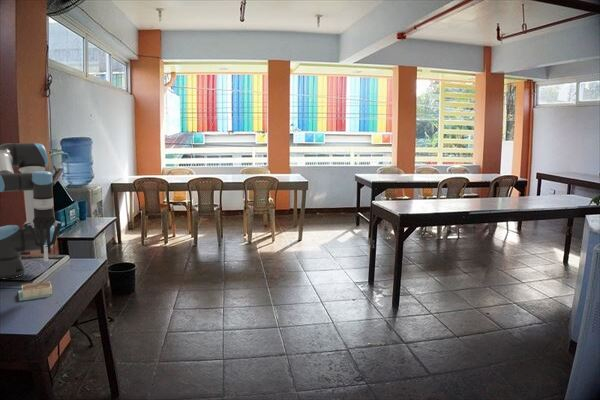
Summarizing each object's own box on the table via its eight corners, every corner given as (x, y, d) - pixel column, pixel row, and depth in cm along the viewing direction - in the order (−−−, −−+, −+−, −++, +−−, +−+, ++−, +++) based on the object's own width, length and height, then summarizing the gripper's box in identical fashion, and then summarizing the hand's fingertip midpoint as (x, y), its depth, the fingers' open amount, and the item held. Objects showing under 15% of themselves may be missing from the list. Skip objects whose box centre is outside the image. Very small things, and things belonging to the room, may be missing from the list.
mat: (18, 291, 207) (18, 290, 207) (47, 287, 213) (47, 286, 213) (19, 300, 198) (19, 299, 198) (50, 296, 204) (50, 295, 204)
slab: (50, 287, 212) (22, 291, 206) (50, 280, 212) (21, 284, 206) (52, 293, 206) (22, 298, 200) (51, 286, 205) (22, 290, 199)
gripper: (26, 210, 195) (29, 264, 199) (61, 208, 202) (63, 261, 206) (25, 206, 201) (28, 259, 206) (59, 204, 208) (61, 256, 213)
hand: (46, 260), depth 206 cm, fingers closed
